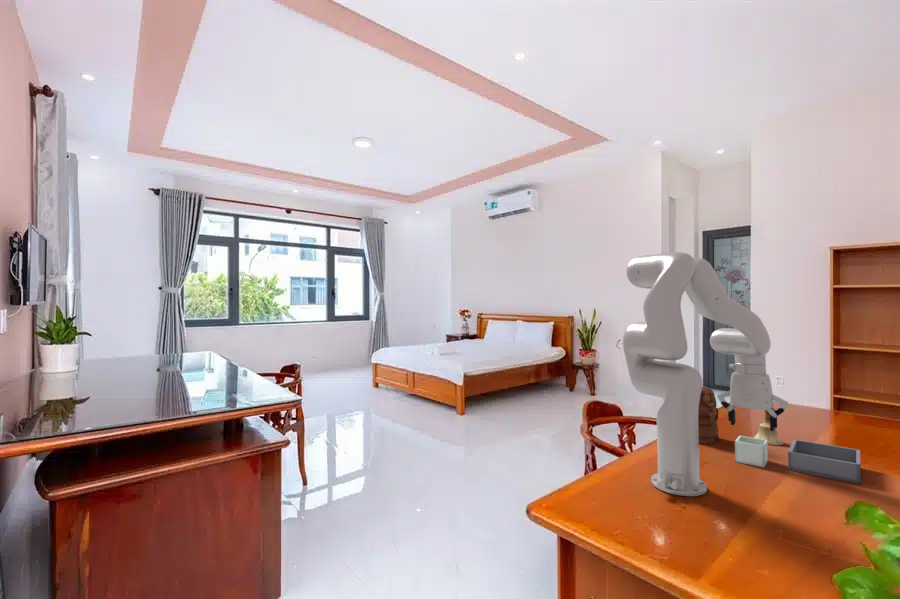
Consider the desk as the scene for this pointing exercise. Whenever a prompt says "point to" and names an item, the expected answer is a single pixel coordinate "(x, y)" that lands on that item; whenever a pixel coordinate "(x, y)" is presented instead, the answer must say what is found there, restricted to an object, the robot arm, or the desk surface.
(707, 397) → the wooden figurine
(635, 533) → the desk surface
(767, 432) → the hand bell
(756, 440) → the small crate
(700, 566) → the desk surface
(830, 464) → the box
